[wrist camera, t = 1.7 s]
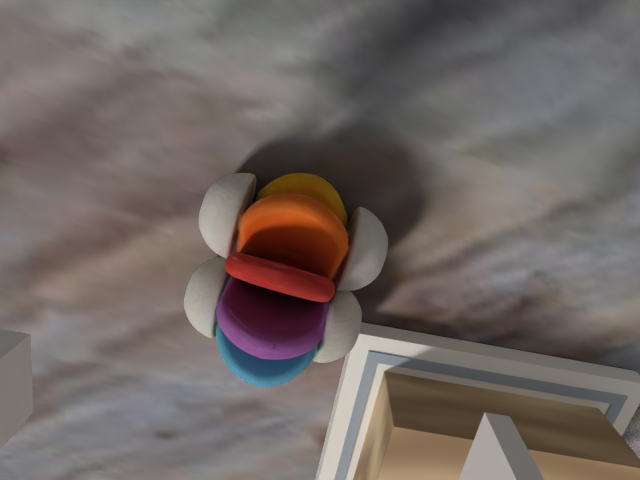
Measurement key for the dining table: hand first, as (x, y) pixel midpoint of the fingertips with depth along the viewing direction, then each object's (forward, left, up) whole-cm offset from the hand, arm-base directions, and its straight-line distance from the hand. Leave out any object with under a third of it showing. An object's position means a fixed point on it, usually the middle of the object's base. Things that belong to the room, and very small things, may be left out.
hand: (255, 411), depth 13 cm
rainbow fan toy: (0, 0, -11) cm, 11 cm away
